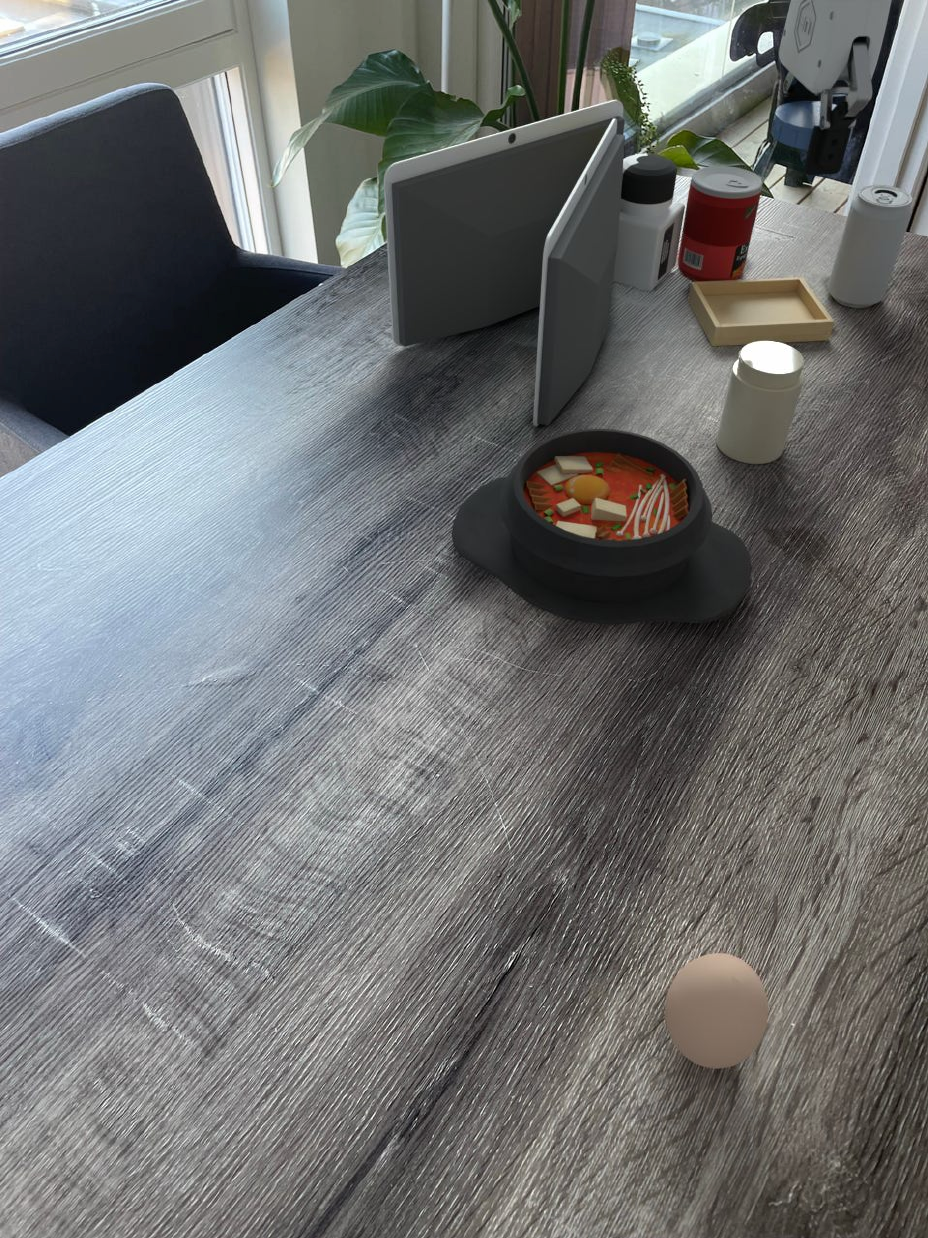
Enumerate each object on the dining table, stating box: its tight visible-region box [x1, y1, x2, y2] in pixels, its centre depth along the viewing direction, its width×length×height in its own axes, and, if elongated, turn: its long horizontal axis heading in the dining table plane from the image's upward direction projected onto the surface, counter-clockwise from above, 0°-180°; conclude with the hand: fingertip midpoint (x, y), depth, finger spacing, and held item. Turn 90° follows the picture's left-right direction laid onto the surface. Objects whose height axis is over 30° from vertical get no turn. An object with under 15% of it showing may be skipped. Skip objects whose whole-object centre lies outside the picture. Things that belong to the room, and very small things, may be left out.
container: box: [613, 152, 686, 292], centre depth 115 cm, size 8×8×13 cm
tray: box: [687, 276, 835, 347], centre depth 112 cm, size 13×10×2 cm
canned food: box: [677, 165, 763, 282], centre depth 117 cm, size 8×8×11 cm
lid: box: [770, 100, 854, 151], centre depth 89 cm, size 7×7×2 cm
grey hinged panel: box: [383, 99, 626, 428], centre depth 103 cm, size 35×22×20 cm, turn 164°
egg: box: [664, 952, 769, 1070], centre depth 53 cm, size 5×5×8 cm
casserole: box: [451, 428, 753, 626], centre depth 81 cm, size 25×19×8 cm
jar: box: [715, 341, 805, 465], centre depth 93 cm, size 6×6×10 cm
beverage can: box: [827, 184, 913, 309], centre depth 112 cm, size 6×6×12 cm
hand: (805, 154), depth 91 cm, fingers closed on lid, 6 cm apart
